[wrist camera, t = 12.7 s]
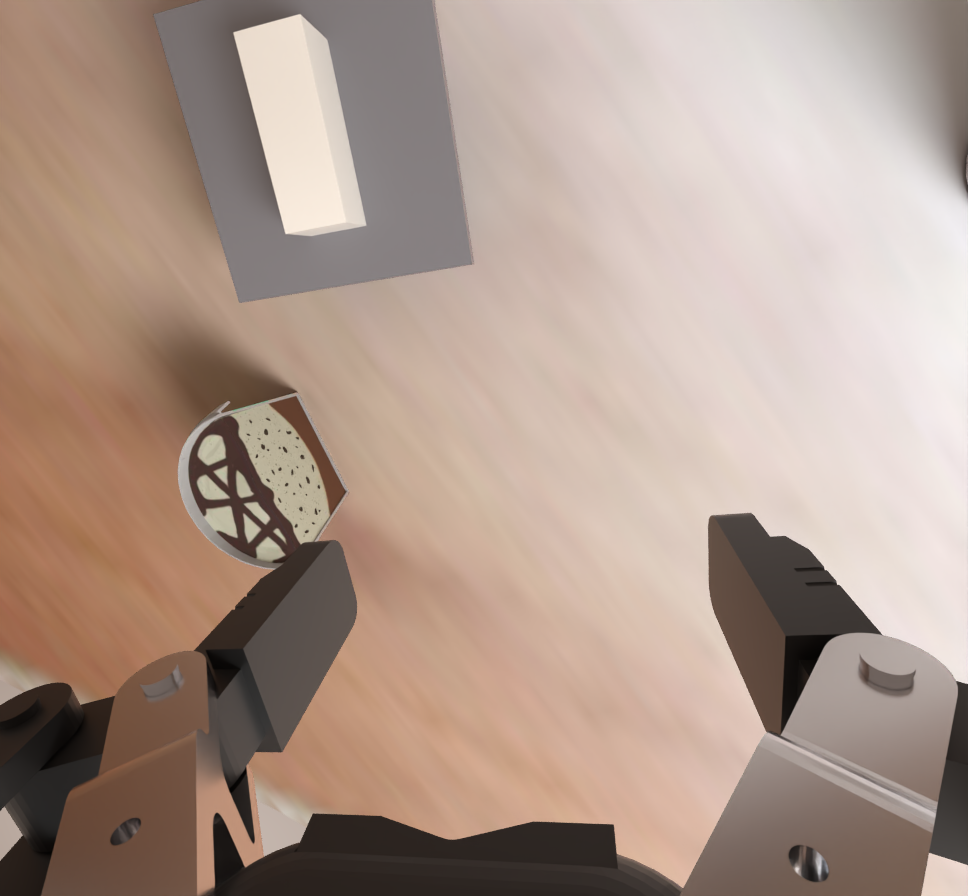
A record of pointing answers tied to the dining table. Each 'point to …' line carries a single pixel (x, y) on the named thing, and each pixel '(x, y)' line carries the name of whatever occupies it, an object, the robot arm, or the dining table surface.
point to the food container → (260, 480)
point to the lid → (320, 139)
